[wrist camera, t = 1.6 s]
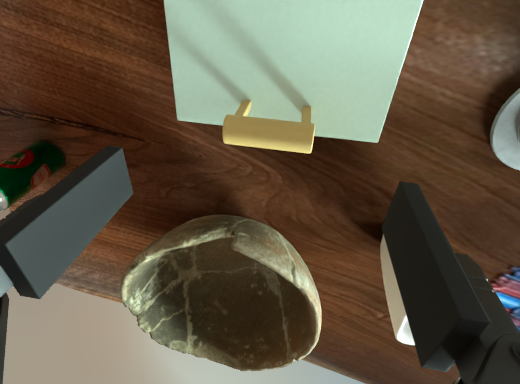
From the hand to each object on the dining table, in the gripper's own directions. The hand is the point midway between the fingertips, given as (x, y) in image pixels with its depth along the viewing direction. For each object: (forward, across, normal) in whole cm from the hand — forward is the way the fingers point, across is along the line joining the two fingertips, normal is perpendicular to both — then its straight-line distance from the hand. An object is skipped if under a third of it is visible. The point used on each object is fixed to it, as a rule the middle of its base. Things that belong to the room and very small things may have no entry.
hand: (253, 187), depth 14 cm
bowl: (+24, -5, -28) cm, 37 cm away
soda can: (+24, -35, -15) cm, 45 cm away
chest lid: (+13, 0, +5) cm, 14 cm away
